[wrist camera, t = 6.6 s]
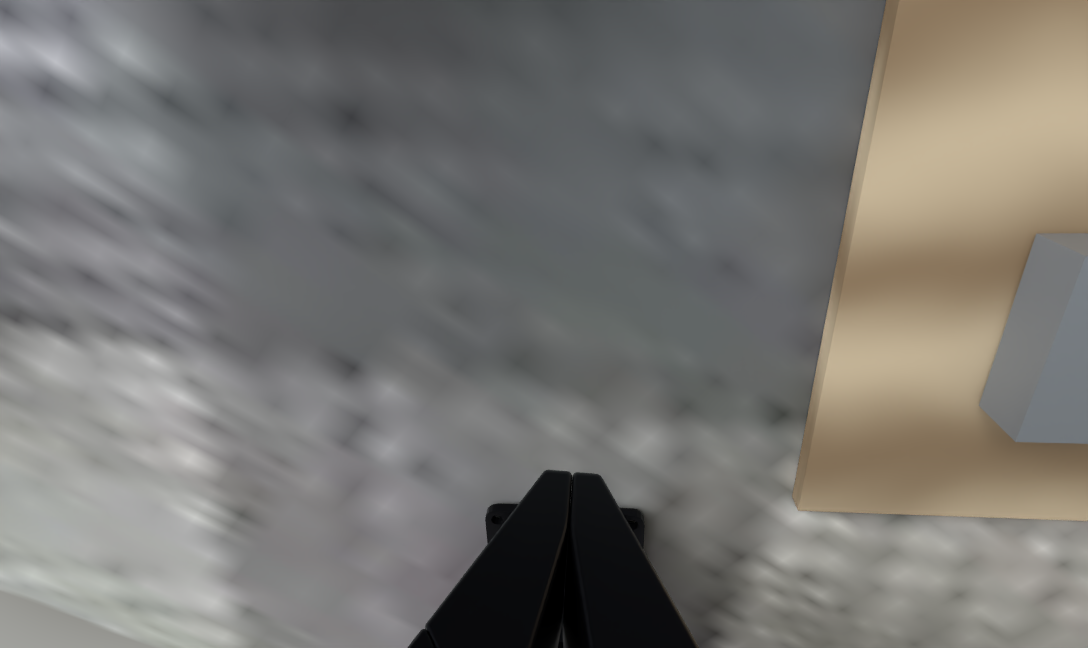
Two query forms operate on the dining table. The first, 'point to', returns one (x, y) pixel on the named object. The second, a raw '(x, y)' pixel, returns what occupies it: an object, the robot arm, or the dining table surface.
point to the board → (948, 263)
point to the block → (1045, 347)
